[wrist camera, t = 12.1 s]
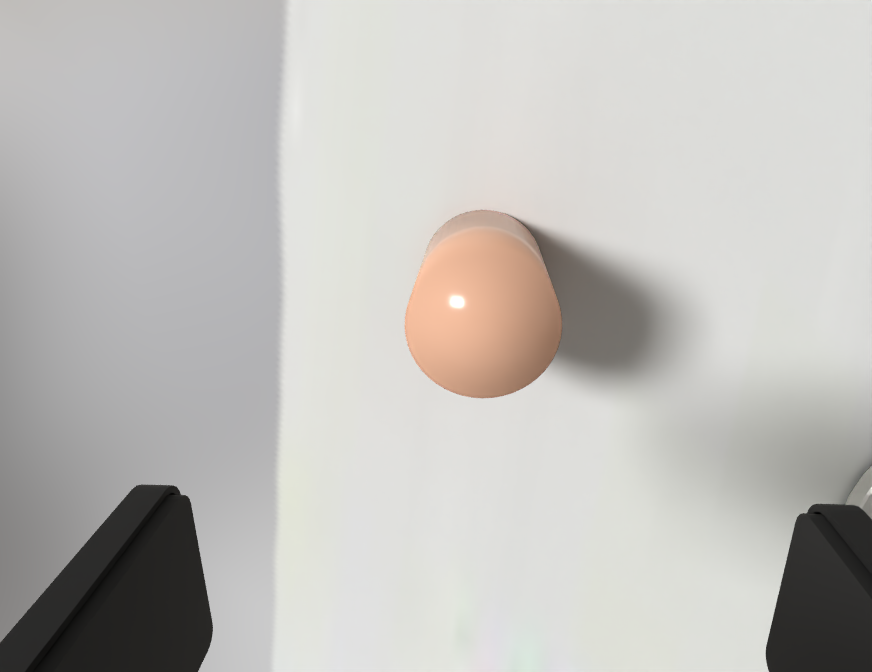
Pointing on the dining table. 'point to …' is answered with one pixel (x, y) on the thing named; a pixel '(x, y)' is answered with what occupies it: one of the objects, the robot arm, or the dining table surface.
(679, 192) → the dining table surface
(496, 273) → the terracotta cylinder
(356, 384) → the dining table surface
